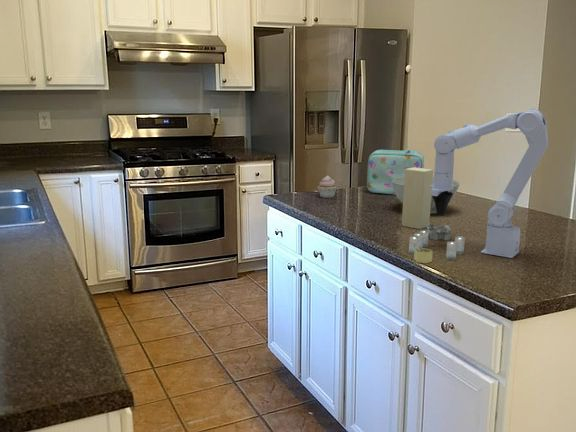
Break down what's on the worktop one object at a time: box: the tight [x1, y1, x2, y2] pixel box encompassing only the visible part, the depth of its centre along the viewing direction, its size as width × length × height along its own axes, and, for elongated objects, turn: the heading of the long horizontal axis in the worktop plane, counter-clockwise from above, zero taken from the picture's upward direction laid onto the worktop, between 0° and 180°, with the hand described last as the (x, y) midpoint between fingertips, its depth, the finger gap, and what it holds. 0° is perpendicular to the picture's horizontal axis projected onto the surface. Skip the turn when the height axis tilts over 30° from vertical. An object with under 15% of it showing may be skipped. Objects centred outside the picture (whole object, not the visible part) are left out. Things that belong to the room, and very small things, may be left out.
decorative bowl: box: [392, 176, 460, 215], centre depth 233 cm, size 27×27×12 cm
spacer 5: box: [454, 235, 466, 255], centre depth 175 cm, size 3×3×5 cm
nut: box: [413, 247, 434, 264], centre depth 168 cm, size 5×5×3 cm
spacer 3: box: [419, 229, 429, 248], centre depth 183 cm, size 3×3×5 cm
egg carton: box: [425, 222, 452, 241], centre depth 195 cm, size 11×8×4 cm
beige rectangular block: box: [401, 167, 434, 230], centre depth 207 cm, size 8×7×21 cm
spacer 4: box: [445, 240, 457, 261], centre depth 170 cm, size 3×3×5 cm
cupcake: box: [316, 175, 339, 199], centre depth 260 cm, size 9×9×10 cm
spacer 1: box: [408, 235, 419, 255], centre depth 175 cm, size 3×3×5 cm
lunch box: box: [366, 148, 426, 196], centre depth 267 cm, size 27×10×21 cm, turn 72°
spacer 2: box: [413, 232, 423, 248], centre depth 179 cm, size 3×3×5 cm
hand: (440, 214), depth 183 cm, fingers closed
